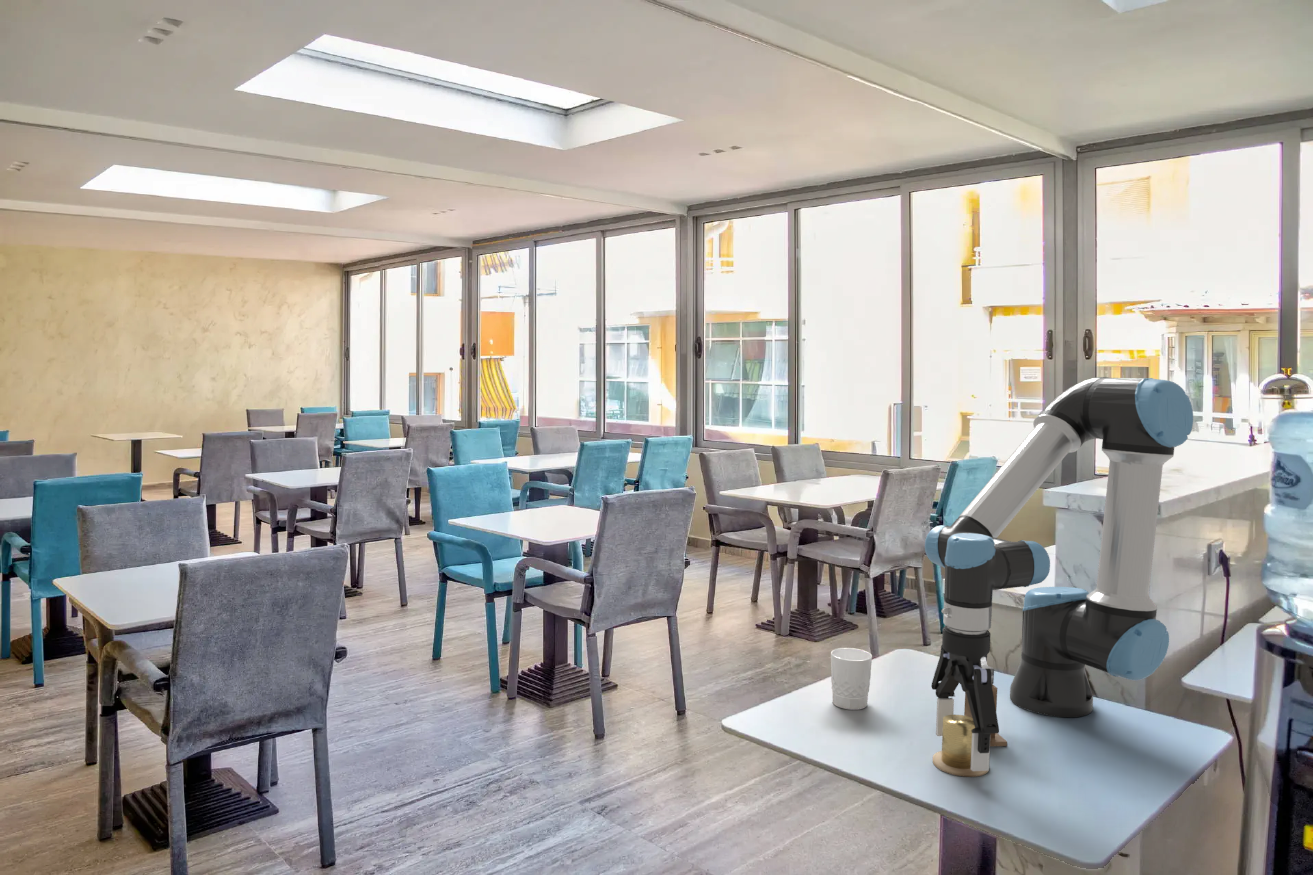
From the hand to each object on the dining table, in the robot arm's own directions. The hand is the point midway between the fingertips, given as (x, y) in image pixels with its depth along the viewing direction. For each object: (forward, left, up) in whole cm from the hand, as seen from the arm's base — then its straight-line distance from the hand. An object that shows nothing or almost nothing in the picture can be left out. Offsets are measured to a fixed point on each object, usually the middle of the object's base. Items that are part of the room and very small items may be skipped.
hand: (961, 752), depth 155 cm
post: (-8, -10, -2) cm, 13 cm away
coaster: (0, 0, -2) cm, 2 cm away
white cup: (+10, -28, -2) cm, 30 cm away
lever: (-10, -15, +8) cm, 20 cm away
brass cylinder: (0, 0, -2) cm, 2 cm away
